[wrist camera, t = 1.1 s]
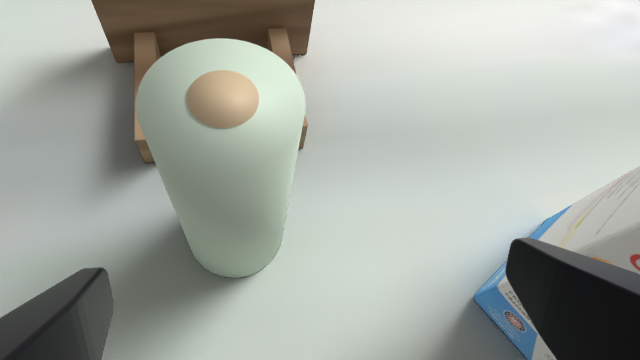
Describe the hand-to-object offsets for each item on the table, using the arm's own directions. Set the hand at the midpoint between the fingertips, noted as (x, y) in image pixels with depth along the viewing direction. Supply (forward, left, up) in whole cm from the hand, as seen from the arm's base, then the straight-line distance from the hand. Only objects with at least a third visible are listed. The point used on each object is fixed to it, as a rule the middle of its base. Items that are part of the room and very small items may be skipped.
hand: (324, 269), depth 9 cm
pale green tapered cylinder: (+2, +6, -14) cm, 15 cm away
